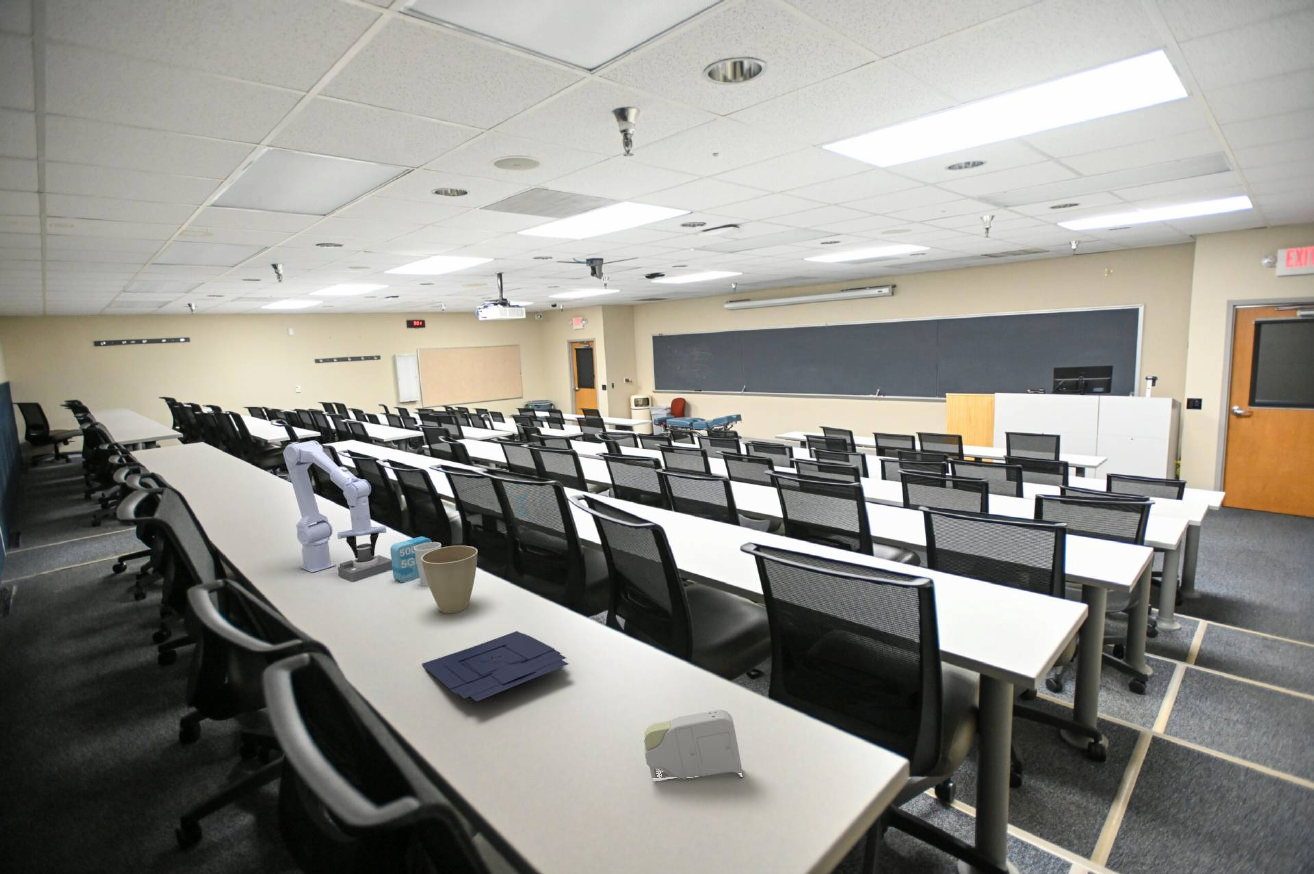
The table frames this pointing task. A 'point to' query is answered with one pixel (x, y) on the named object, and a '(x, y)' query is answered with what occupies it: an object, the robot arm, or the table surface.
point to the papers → (495, 665)
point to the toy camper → (693, 746)
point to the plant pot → (451, 576)
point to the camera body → (364, 568)
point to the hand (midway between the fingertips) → (365, 556)
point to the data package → (406, 559)
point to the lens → (364, 553)
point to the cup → (419, 552)
